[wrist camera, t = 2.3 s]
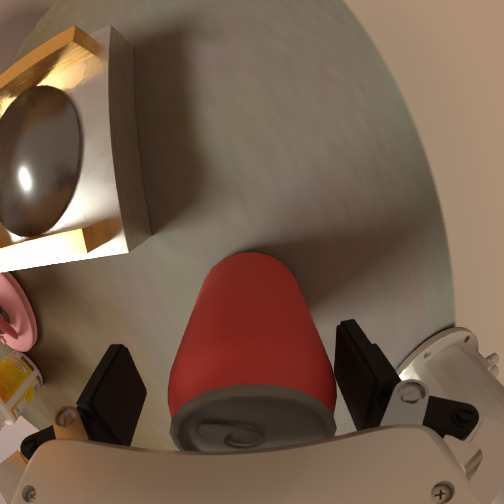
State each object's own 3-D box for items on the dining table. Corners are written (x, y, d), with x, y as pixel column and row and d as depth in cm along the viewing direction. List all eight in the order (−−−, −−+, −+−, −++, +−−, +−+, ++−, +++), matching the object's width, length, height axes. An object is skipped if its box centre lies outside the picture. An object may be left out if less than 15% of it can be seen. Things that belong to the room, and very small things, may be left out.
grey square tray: (133, 47, 14) (92, 7, 7) (152, 235, 17) (107, 267, 11) (7, 111, 14) (-41, 107, 8) (23, 258, 18) (-25, 284, 11)
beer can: (225, 232, 17) (185, 343, 6) (314, 272, 18) (390, 401, 7) (189, 314, 19) (140, 454, 8) (271, 345, 20) (288, 487, 8)
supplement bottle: (7, 346, 21) (-38, 391, 11) (30, 350, 21) (-18, 404, 11) (26, 381, 22) (-11, 428, 13) (51, 388, 22) (13, 443, 12)
